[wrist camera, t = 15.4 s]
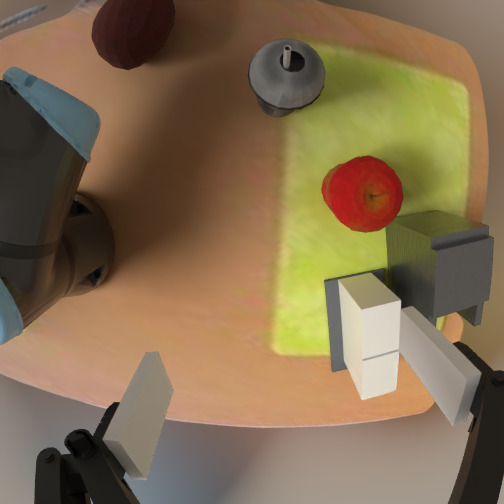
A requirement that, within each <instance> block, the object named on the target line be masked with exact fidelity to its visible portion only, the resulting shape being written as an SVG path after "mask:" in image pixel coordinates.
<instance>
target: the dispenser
mask: <svg viewBox="0 0 504 504" xmlns="http://www.w3.org/2000/svg"><path fill="white" fill-rule="evenodd" d="M488 233H489V227H488V225H485V224H482V223H478V222H475V221H472V220H469V219H465V218H462V217H458V216H455V215H451V214H448V213H444V212H441V211H437V210H435V211H429V212H423V213H417V214H411V215H405V216H399V217H395V219H394V221H393V222H392V223H391V224H389V225H388V226H386V240H387V258H388V287H389V289H390V290H391V291H392V292H393V293H394V294H395V295H396V296H397V297H398V298H399V299H400V300H401V309H403V308H406V307H410V306H413V307H414V308H415V309H416V310H417V311H419V312H420V313H421V314H422V315H423V316H424V317H425V318H426V319H427V320H428V321H429V322H430V323H431V324H432V325H433V326H435V327H436V321H437V318H439V317H442V316H445V315H448V314H451V313H454V312H457V313H458V314H459V315H460V316H462V317H463V318H464V319H466V320H467V321H468V322H469V323H471V324H472V325H473V326H474V327H475V326H477V325H480V324H481V318H482V311H483V304H484V301H487V300H489V295H490V285H491V275H492V261H493V242H494V240H493V239H494V238H493V237H491V236H489V234H488Z"/></svg>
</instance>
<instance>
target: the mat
mask: <svg viewBox="0 0 504 504" xmlns="http://www.w3.org/2000/svg"><path fill="white" fill-rule="evenodd" d="M366 273H372V274H373V275H374V276H375V277H376V278H378V279H379V280H380V281H381V282H382V283H383V284H384V285H385V280H384V269H383V268H382V269H377V270H372V271H368V272H363V273H358V274H353V275H348V276H343V277H338V278H333V279H328V280H324V283H325V293H326V303H327V314H328V325H329V338H330V352H331V367H332V372H336V371H340V370H345V369H348V368H347V366H346V364H345V362H344V353H343V335H342V320H341V306H340V295H339V284H338V279H343V278H348V277H352V276H357V275H362V274H366Z"/></svg>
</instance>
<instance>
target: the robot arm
mask: <svg viewBox="0 0 504 504" xmlns="http://www.w3.org/2000/svg"><path fill="white" fill-rule="evenodd" d="M2 78H3V80H0V345H2V344H4V343H6V342H8V341H9V340H11V339H12V338H14V337H16V336H18V335H20V334H21V333H22V331H23V329H25V328H26V327H27V326H28V325H29V324H31V323H32V322H33V321H34V320H35V319H37V318H38V317H39V316H40V315H41V314H43V313H44V312H45V311H46V310H48V309H49V308H50V307H51V306H53V305H54V304H55V303H56V302H58V301H59V300H60V299H61V298H63V297H70V296H77V295H82V294H85V293H88V292H90V291H91V290H93V289H94V288H96V287H97V286H98V285H99V284H100V283H102V282H103V280H104V279H105V278H106V277H107V275H108V273H109V272H110V269H111V267H112V264H113V259H114V238H113V234H112V230H111V227H110V224H109V222H108V220H107V218H106V216H105V215H104V213H103V212H102V211H101V209H100V208H99V207H98V206H97V205H96V204H95V203H94V202H93V201H91V200H90V199H88V198H87V197H85V196H82V195H79V194H76V192H77V189H78V186H79V183H80V181H81V178H82V175H83V173H84V170H85V168H86V165H87V163H89V162H90V160H91V157H90V154H91V151H92V149H93V146H94V143H95V141H96V138H97V136H98V133H99V130H100V126H101V122H100V117H99V115H98V113H97V112H96V111H95V110H94V109H93V108H91V107H90V106H88V105H87V104H85V103H84V102H82V101H80V100H79V99H77V98H75V97H74V96H72V95H70V94H68V93H67V92H65V91H63V90H61V89H59V88H57V87H56V86H54V85H52V84H50V83H48V82H46V81H44V80H42V79H40V78H37V77H36V76H34V75H31V74H29V73H28V72H26V71H24V70H22V69H20V68H17V67H11V68H9V69H8V70H7V72H5V73H4V74H3V77H2ZM399 352H400V353H401V355H402V356H403V357H404V359H405V360H406V361H407V363H408V364H409V365H410V367H411V368H412V370H413V371H414V372H415V374H416V375H417V376H418V378H419V379H420V381H421V382H422V383H423V385H424V386H425V387H426V389H427V390H428V392H429V393H430V394H431V396H432V397H433V399H434V400H435V402H436V403H437V404H438V406H439V407H440V409H441V410H442V412H443V413H444V414H445V416H446V417H447V419H448V420H449V422H450V423H451V425H452V426H455V425H457V424H460V423H462V422H464V421H466V420H467V417H468V415H469V412H471V413H472V414H473V415H474V417H473V420H472V422H471V425H470V428H469V430H468V432H470V433H469V437H468V441H467V445H466V449H465V453H464V457H463V460H462V463H461V467H460V470H459V473H458V476H457V479H456V482H455V485H454V488H453V492H452V494H451V497H450V499H449V502H448V504H497V501H498V498H499V493H500V489H501V485H502V480H503V475H504V371H501V370H499V371H493V370H492V369H491V368H490V367H489V366H488V365H487V364H486V363H485V362H484V361H483V360H482V359H481V358H480V357H479V356H477V354H476V353H475V352H473V350H472V349H470V348H469V347H468V346H467V345H465V344H463V343H461V342H459V341H458V342H455V343H451V342H450V341H449V340H448V339H447V338H446V337H445V336H444V335H443V334H442V333H441V332H440V331H439V330H438V329H437V328H436V327H435V326H433V325H432V324H431V323H430V322H429V321H428V320H427V319H426V318H425V317H424V316H423V315H422V314H421V313H420V312H419V311H417V310H416V309H415V308H414V307H413V306H410V307H406V308H403V309H400V336H399ZM172 393H173V388H172V385H171V383H170V380H169V378H168V375H167V373H166V370H165V368H164V365H163V362H162V360H161V357H160V354H159V352H148V353H145V355H144V357H143V359H142V361H141V363H140V365H139V367H138V369H137V371H136V372H135V374H134V376H133V378H132V380H131V382H130V384H129V386H128V388H127V390H126V392H125V394H124V396H123V398H122V400H121V402H114V403H113V404H112V405H111V406H109V407H108V408H107V410H106V412H105V414H104V416H103V417H102V419H101V421H100V422H101V423H99V425H98V427H97V429H96V431H95V433H94V435H93V436H92V435H91V434H90V433H89V431H87V430H85V429H78V430H74V431H73V432H71V433H69V435H68V436H67V437H66V439H65V441H64V442H65V446H66V447H67V449H68V450H69V451H70V453H71V454H64V455H61V453H60V452H59V451H58V450H57V449H56V448H53V447H52V448H47V449H44V450H42V451H41V452H40V453H39V455H38V456H37V461H36V475H35V500H34V501H35V503H34V504H91V500H90V497H91V499H92V501H93V504H140V503H139V501H138V500H137V498H136V497H135V495H134V494H133V492H132V490H131V489H130V487H129V485H128V484H127V482H126V481H125V479H124V478H123V477H124V474H125V471H126V473H127V474H128V475H129V476H130V478H132V479H141V480H147V476H148V473H149V469H150V466H151V462H152V459H153V456H154V452H155V449H156V445H157V442H158V439H159V435H160V432H161V429H162V425H163V422H164V419H165V416H166V413H167V409H168V406H169V403H170V400H171V397H172Z"/></svg>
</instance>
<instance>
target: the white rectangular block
mask: <svg viewBox="0 0 504 504" xmlns="http://www.w3.org/2000/svg"><path fill="white" fill-rule="evenodd" d="M338 284H339V295H340V306H341V320H342V335H343V353H344V362H345V364H346V366H347V368H348V370H349V373H350V375H351V377H352V379H353V381H354V383H355V386H356V388H357V390H358V392H359V394H360V397H361V399H362V400H365V399H368V398H372V397H375V396H379V395H382V394H386V393H389V392H392V391H395V390H396V384H397V374H398V362H399V336H400V309H401V300H400V299H399V298H398V297H397V296H396V295H395V294H394V293H393V292H392V291H391V290H390V289H389V288H387V287H386V286H385V285H384V284H383V283H382V282H381V281H380V280H379V279H378V278H376V277H375V276H374V275H373V274H372V273H366V274H362V275H357V276H352V277H348V278H343V279H338Z"/></svg>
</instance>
